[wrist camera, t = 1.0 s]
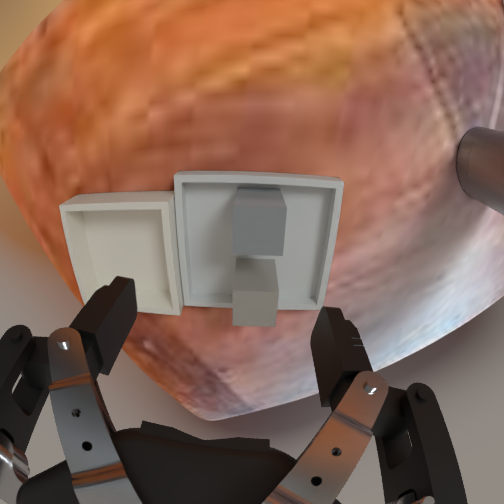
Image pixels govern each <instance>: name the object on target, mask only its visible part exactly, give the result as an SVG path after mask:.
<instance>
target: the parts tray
mask: <svg viewBox="0 0 504 504" xmlns="http://www.w3.org/2000/svg"><path fill="white" fill-rule="evenodd" d="M237 187H249V188H273V189H280V190H281V193H282V195H283V198H284V201H285V204H286V207H287V215H286V227H285V238H284V249H283V256H266V255H238V254H232V251H233V204H234V199H235V195H236V191H237ZM343 188H344V181H342V180H341V179H339V178H338V177H328V176H317V175H304V174H290V173H272V172H248V171H179V172H177V173H176V174H175V175H174V191H175V209H176V225H177V238H178V250H179V261H180V271H181V280H182V289H183V297H184V305H186V306H201V307H219V308H233V305H232V290H233V282H234V274H235V265H236V258H252V259H275V264H276V272H277V280H278V287H279V298H278V307H277V310H321V308H322V307H323V303H324V298H325V294H326V289H327V284H328V279H329V274H330V269H331V264H332V258H333V253H334V247H335V241H336V235H337V229H338V223H339V216H340V210H341V203H342V195H343Z"/></svg>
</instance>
